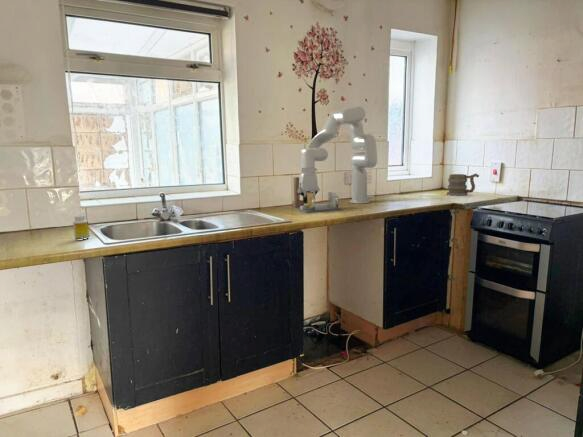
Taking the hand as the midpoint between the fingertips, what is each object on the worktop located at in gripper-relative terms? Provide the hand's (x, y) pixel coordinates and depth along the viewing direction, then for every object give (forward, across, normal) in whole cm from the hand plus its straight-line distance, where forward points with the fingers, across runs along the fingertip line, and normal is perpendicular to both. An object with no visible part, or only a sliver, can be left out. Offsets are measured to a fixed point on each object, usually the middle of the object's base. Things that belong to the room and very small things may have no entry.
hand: (308, 202), depth 250 cm
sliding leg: (+3, 0, +2) cm, 4 cm away
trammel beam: (+3, -6, +2) cm, 7 cm away
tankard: (+5, -120, -5) cm, 120 cm away
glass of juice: (+5, +117, +19) cm, 119 cm away
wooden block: (+5, -4, -18) cm, 19 cm away
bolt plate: (+4, -6, +1) cm, 8 cm away
